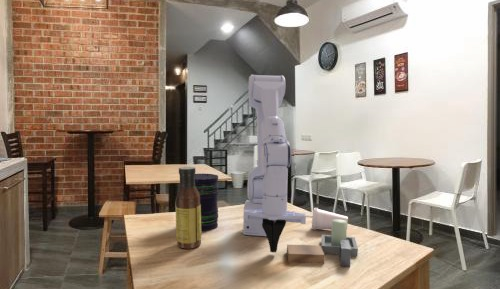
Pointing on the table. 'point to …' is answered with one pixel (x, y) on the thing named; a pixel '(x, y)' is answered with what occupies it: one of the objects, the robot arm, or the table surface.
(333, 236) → the sage dowel
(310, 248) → the tan rectangular block
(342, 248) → the post
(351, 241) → the slate tray
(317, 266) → the table surface
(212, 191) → the storage jar
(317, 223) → the smoothie
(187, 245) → the sauce bottle
